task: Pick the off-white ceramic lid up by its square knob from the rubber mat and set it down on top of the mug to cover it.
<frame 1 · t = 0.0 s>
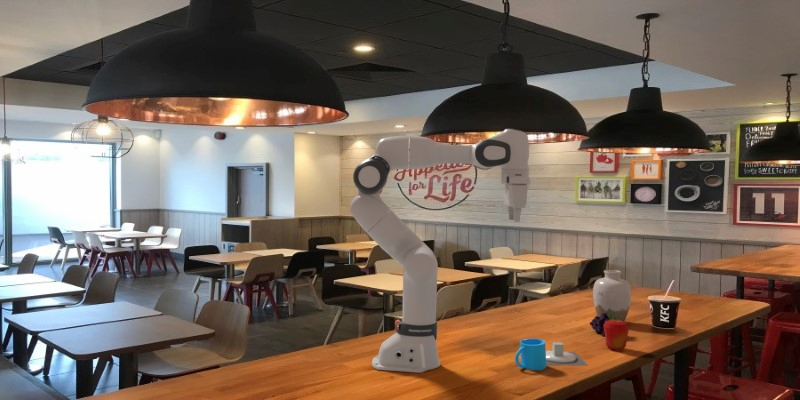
hand: (514, 220, 202), 48 cm above the table, fingers open, 8 cm apart
apple: (615, 349, 226), on the table
mug: (529, 368, 200), on the table, touching mat
fruit: (606, 335, 248), on the table
mat: (557, 359, 211), on the table
lid: (557, 358, 211), point 1 cm above the table, touching mat
vase: (611, 323, 268), on the table
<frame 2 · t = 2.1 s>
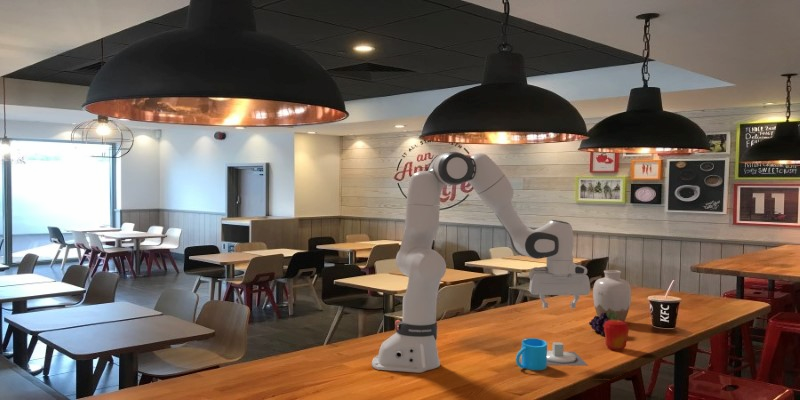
hand: (559, 307, 210), 18 cm above the table, fingers open, 8 cm apart
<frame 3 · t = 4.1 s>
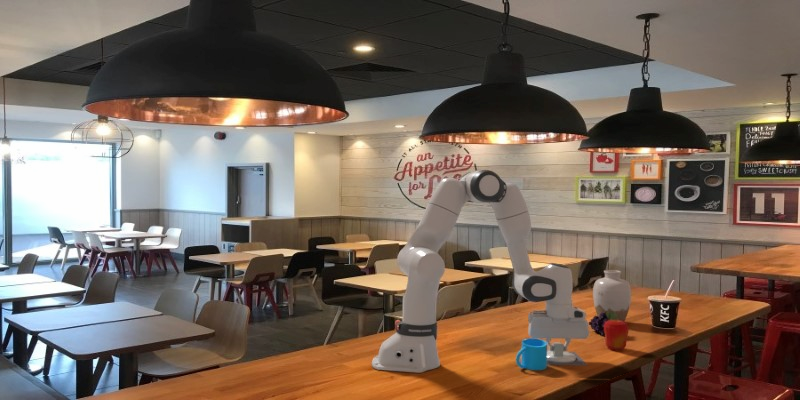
hand: (557, 351, 211), 3 cm above the table, fingers closed on lid, 3 cm apart
lid: (557, 357, 211), point 1 cm above the table, touching gripper, mat
everything else where it was.
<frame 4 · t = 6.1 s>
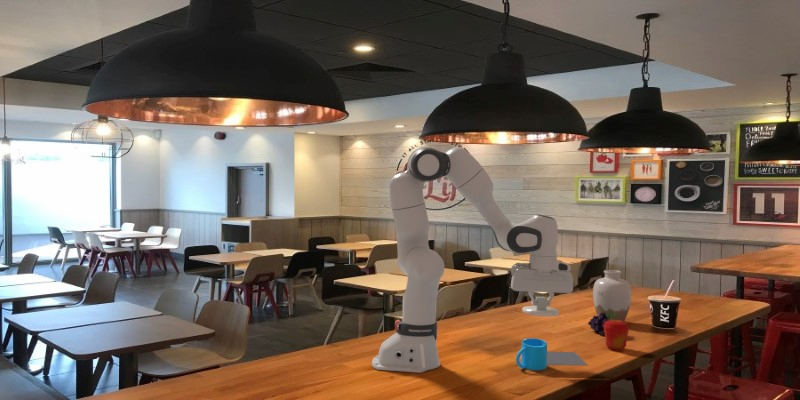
hand: (540, 305, 204), 20 cm above the table, fingers closed on lid, 3 cm apart
lid: (540, 312, 204), point 18 cm above the table, touching gripper
everything else where it was.
when the fingers open (12 cm above the table, at t = 8.5 s): lid stays where it is, resting on mug.
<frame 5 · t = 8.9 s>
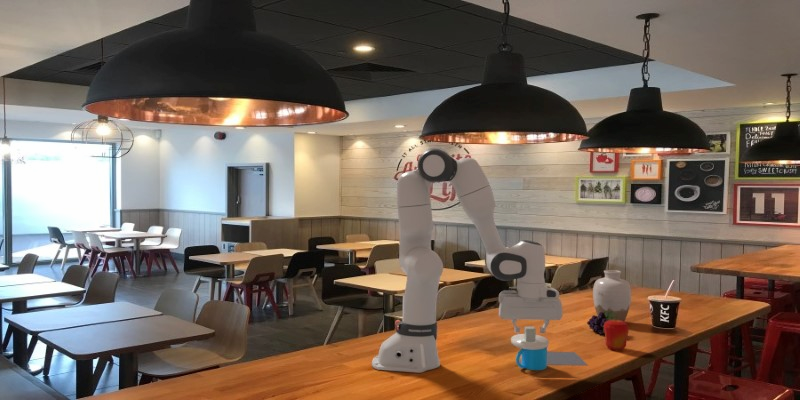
hand: (529, 332, 199), 12 cm above the table, fingers open, 7 cm apart
mug: (529, 368, 200), on the table, touching lid, mat
lid: (529, 342, 200), point 8 cm above the table, tilted 6°, touching mug
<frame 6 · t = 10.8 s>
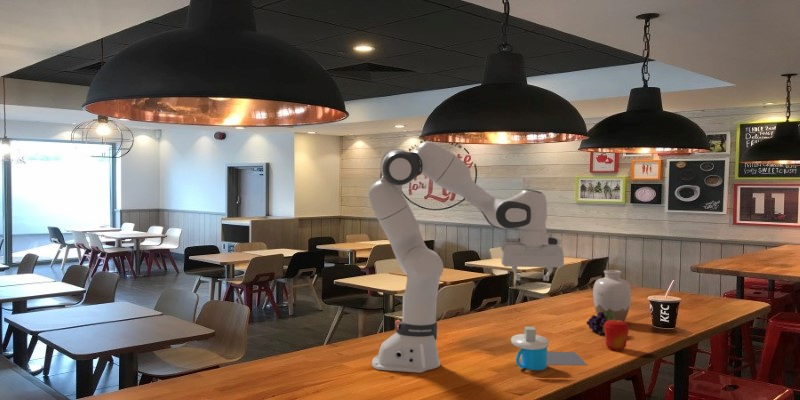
hand: (531, 280, 204), 28 cm above the table, fingers open, 8 cm apart
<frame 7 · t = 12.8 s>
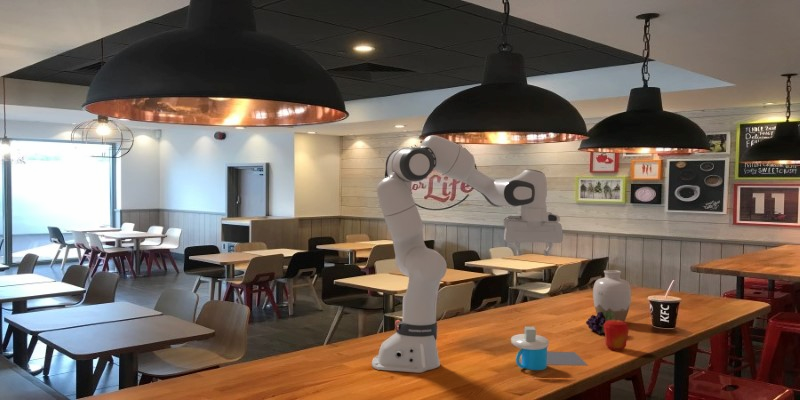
hand: (532, 255, 216), 35 cm above the table, fingers open, 8 cm apart
at the end: lid 0.1 cm from the mug (horizontally); lid point 8.5 cm above the table; the gripper is holding nothing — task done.
